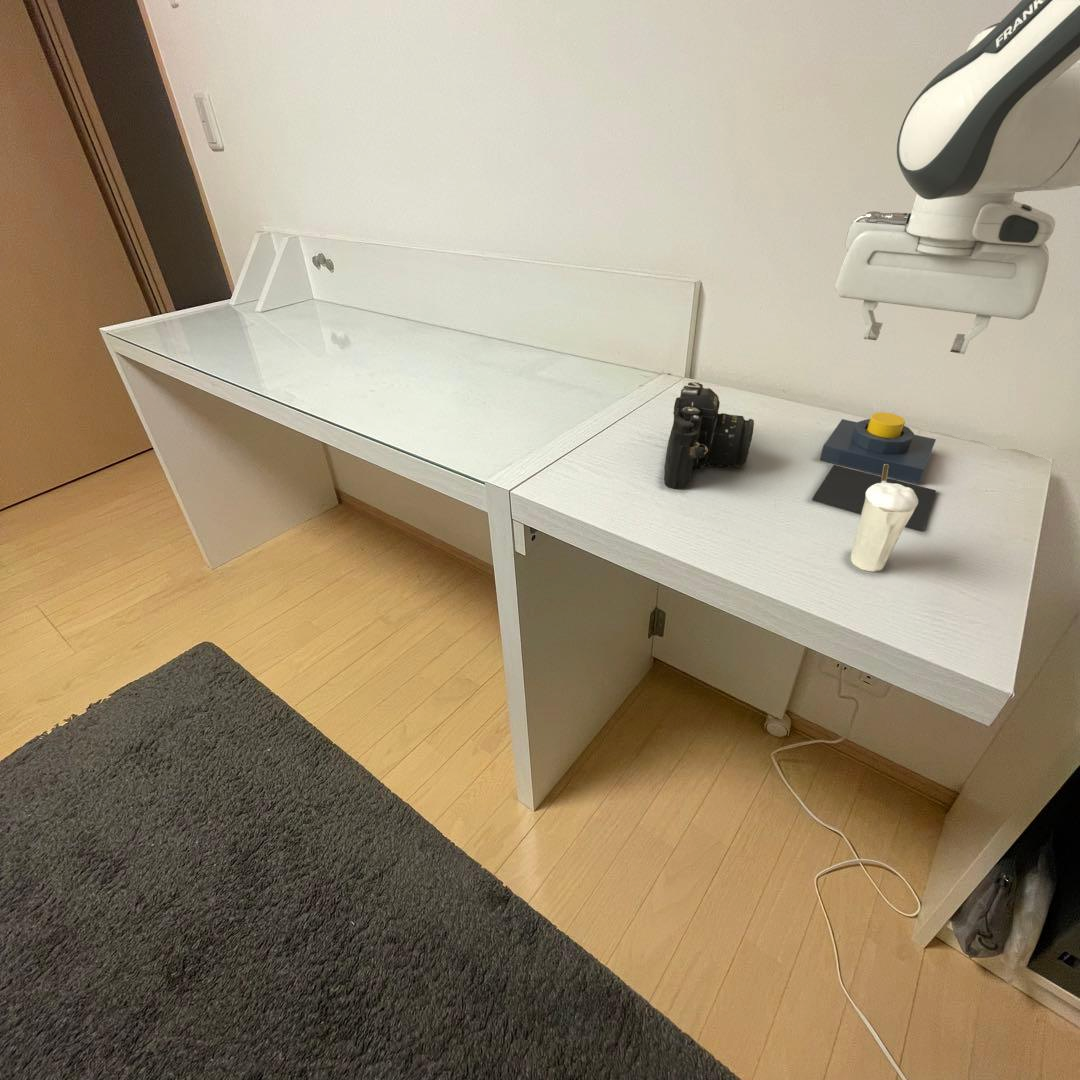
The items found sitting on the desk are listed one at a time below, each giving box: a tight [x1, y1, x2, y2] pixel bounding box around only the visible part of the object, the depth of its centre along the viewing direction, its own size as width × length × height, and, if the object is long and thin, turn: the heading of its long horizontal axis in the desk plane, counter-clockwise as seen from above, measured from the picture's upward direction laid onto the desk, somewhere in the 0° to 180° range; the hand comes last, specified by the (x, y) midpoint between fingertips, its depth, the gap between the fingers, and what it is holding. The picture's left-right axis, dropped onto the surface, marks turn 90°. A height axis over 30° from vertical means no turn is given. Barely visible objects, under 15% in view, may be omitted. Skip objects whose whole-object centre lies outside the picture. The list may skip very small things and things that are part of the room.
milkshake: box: [850, 464, 918, 573], centre depth 61 cm, size 4×5×10 cm
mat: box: [811, 464, 937, 532], centre depth 74 cm, size 12×10×1 cm
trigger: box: [867, 411, 906, 438], centre depth 80 cm, size 4×4×2 cm
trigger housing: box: [819, 418, 937, 486], centre depth 82 cm, size 12×10×4 cm
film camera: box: [663, 381, 755, 490], centre depth 80 cm, size 18×12×10 cm
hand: (912, 345), depth 73 cm, fingers open, 8 cm apart
